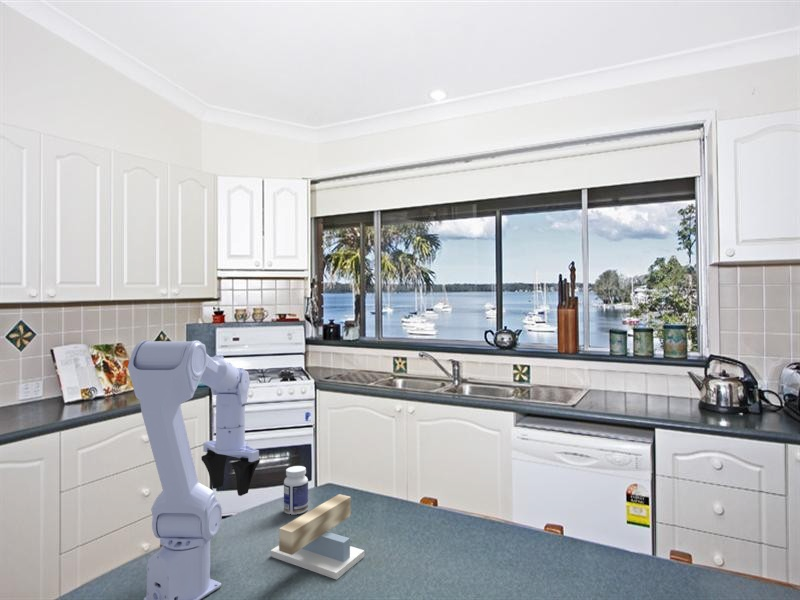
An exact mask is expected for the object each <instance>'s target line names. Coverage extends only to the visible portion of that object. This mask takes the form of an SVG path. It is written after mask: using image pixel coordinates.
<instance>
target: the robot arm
mask: <svg viewBox="0 0 800 600" xmlns="http://www.w3.org/2000/svg"><path fill="white" fill-rule="evenodd" d="M127 370H128V373H129V377H130V380H131V384H132V388H133V392H134V395H135V398H136V399H138V400H139V403H140V405H139V406H140V410H141V416H142V418H143V424H144V426H145V430H146V433H147V438H148V440H149V444H150V447H151V448H150V449H151V453H152V455H153V459H154V462H155V466H156V470H157V473H158V477H159V481H160V485H161V488H162V491H161V492H160V493H158V495H157V497H156V498H155V500H154V502H153V505H152V506H151V514H152V519H151V520H152V521H151V528H152V532H153V535H154V537H155V538H157V539H159V545H160V546H161V548H160V549H158V551H156V552H154V554H152V555H151V556H150V557H149V558H148V560H147V564H146V596H144V598H143V600H202V599H204V598H205V597H207V596H208V595H210V594H211V593H213V592H215V591H216V590H218V589H220V588H221V587H222V583H221V582H220V581H217V580H215V579H213V578H211V540H212V539H213V538H214V536H215V535H217V533H218V531H219V530H220V526H221V522H222V517H223V516H222V515H223V510H222V509H223V508H222V504H221V503H220V501H219V500H218V499H217V497H216V495H215V491H214V490H215V489H218V488H220V487H223V485H224V481H225V480H224V479H225V466H226V462H227V459H228V456H229V457H234V458H237V459H240V460H237V461H234V462H231V466H232V468H233V471H234V474H235V479H236V490H237V491H236V492H237V496H239V497H242V496H245V495H246V494H248V493H249V489H250V485H251V482H252V480H253V479H252V478H253V476H254V473H255V471H256V469H257V467H258V465H259V464H260V460H261V459H260V450H259V449H256V448H254V447H251V446H249V444H248V441H246V440H245V439H246V438H245V437H246V435H245V434H246V429H245V428H246V403H247V401H248V396H249V395H248V392H249V388H250V384H251V383H250V382H251V381H250V374H249V372H248V370H245V368H243V367H235V366H233V363H231V362H227V361H226V360H225V357H224V356H223V355H220V354H219V355H218V354H215V355H214V356H210V355H209V354H208V353H207V347H206V344H204V343H203V342H201V341H200V340H191V341H189V340H188V341H182V340H181V341H176V340H175V341H172V340H171V341H170V340H169V341H168V340H167V341H166V340H165V341H163V340H162V341H161V340H160V341H155V340H154V341H153V340H151V341H150V340H149V339H148V340H145V339H144V340H140V341H139V342H138V343H136V345H135V346H134V348H133V349H132V352H131V355H130V358H129V361H128V365H127ZM200 382H201V384H202V385H205V386H206V387H209V388H210V390H211V395H213V396H215V440H208V441H205V442H203V445H202V447H203V452H205V453H206V454H204V455H202V456H201V461H202V462H203V464H204V467H205V468H206V470H207V472H208V475H209V479H210V483H211V486H212V489H211V488H209V487H207V486H206V485H204V484H202V483H200V482H199V481H198V475H197V471H196V468H195V467H196V466H195V463H194V462H195V461H194V458H193V454H192V450H191V446H190V442H189V437H188V434H187V429H186V428H187V427H186V425H185V421H184V415H183V412H182V409H181V407H182V406H181V405H182V404H184V403H186V402H187V401H189V400H191V399H193V398H194V395H195V392H196V390H197V388H198V386H199V384H200ZM213 489H214V490H213Z"/></svg>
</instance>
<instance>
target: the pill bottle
mask: <svg viewBox="0 0 800 600" xmlns="http://www.w3.org/2000/svg"><path fill="white" fill-rule="evenodd" d="M306 474H307V468H306V467H305V466H304V465H293V466H289V467H288V468H286V469H285V475H286V477H285V478H284V480H283V512H284V513H285V514H287V515H290V514H291V515H292V516H293V515H294V516H296V515H297V514H298V515H303V514H305V513H307V512H308V511H307V510H308V509H309V479H308V477H307V476H306ZM291 515H290V516H291Z"/></svg>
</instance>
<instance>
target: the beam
mask: <svg viewBox="0 0 800 600" xmlns="http://www.w3.org/2000/svg"><path fill="white" fill-rule="evenodd" d="M351 503H352V497H351V496H349V495H345V494H341V493H339V494H337V495H335V496H333V497H331V498H330V499H328V500H326V501H324V502H323V503H321V504H319V505H317V506H316V507H314V508H311V510H309V511H306V512H304V513H302V514H301V515H300V516H298V517H296V518H294V519H293V520H291V521H290V522H288V523H286V524H284V525H283V526H281V527H279V529H278V531H279V532H278V533H279V534H278V539H279V540H278V541H279V543H278V546H279V551H282V552H285V553H288V554H291V555H292V554H294V553H295V552H297V551H298V550H300V549H301V548H303V547H305V546H306V545H308V544H309V543H311V542H312V541H314V540H315V539H317V538H318V537H320V536H321V535H323V534H324V533H326V532H329V531H330V530H331V529H333V528H335V527H336V526H338V525H340V524H341V523H342V522H344V521H345V520H347V519H348V518H350V517H351V514H352V512H351V511H352V504H351Z"/></svg>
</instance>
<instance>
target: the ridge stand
mask: <svg viewBox="0 0 800 600" xmlns="http://www.w3.org/2000/svg"><path fill="white" fill-rule="evenodd" d="M365 554H366V553H365V549H362V548H358V547H355V546H351V538H350V537H347V536H344V535H340V534H337V533H334V532H329V531H327V532H326V533H324V534H323V535H321V536H320V537H318V538H317V539H315V540H314V541H312V542H311V543H309V544H308V545H306V546H305V547H303V548H301V549H300V550H298V551H297V552H295V553H294V554H292V555H291V554H288V553H285V552H282V551H279V545H277V546H275V547H274V548H272V549H271V550H270V558H274V559H277V560H280V561H282V562H285V563H288V564H291V565H293V566H294V565H295V566H297V567H300V568H303V569H305V570H308V571H311V572H313V573H317V574H319V575H321V576H324V577H325V576H326V577H328V578H331V579H334V580H338V579H339V578H340V577H341V576H342V575H345V573H347V572H348V571H349V570H350V569H352V568H353V566H355V565H356V564H357V563H359V562H360V561H361V560H362V559H363V558H365Z"/></svg>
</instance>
